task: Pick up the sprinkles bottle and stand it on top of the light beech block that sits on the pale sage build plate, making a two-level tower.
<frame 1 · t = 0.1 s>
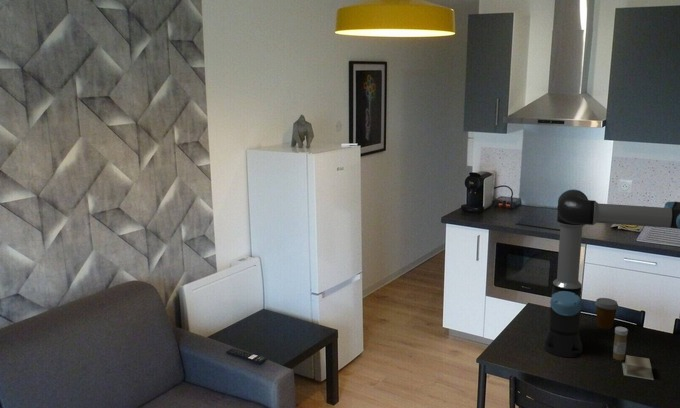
beech block: (637, 371, 217), point 1 cm above the table, touching build plate
disposable coffee cup: (604, 326, 258), on the table
sprinkles bottle: (618, 360, 228), on the table
build plate: (637, 373, 218), on the table
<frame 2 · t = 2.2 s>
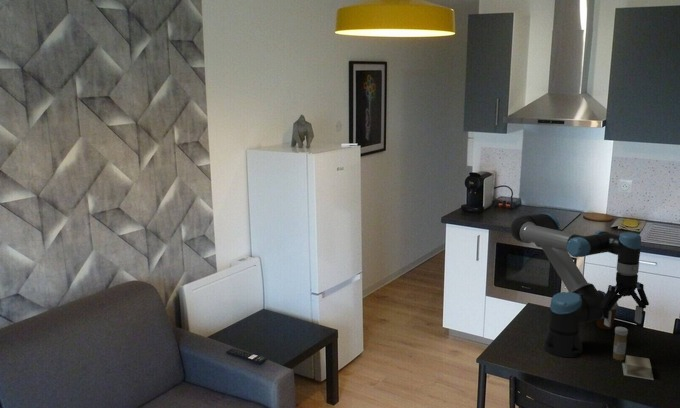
hand: (622, 324, 224), 15 cm above the table, fingers open, 13 cm apart
nothing on the table moved.
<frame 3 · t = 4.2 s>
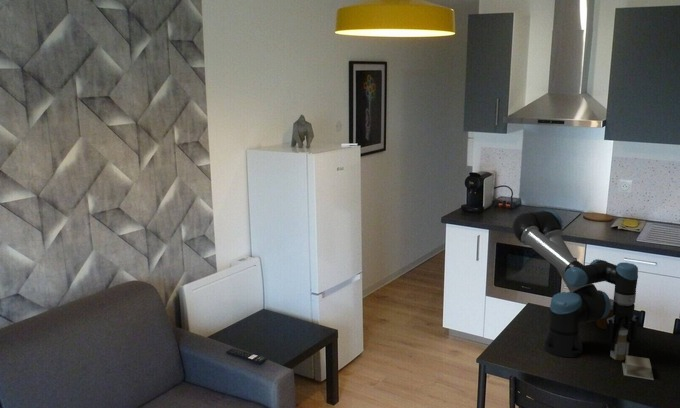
hand: (618, 356, 228), 1 cm above the table, fingers closed on sprinkles bottle, 4 cm apart
sprinkles bottle: (618, 360, 228), on the table, touching gripper
everything else where it was.
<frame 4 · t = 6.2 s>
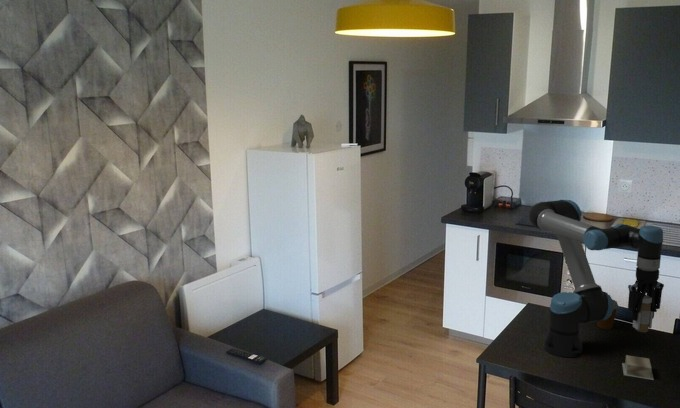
hand: (641, 327, 214), 19 cm above the table, fingers closed on sprinkles bottle, 4 cm apart
sprinkles bottle: (641, 330, 214), point 17 cm above the table, touching gripper
everything else where it was.
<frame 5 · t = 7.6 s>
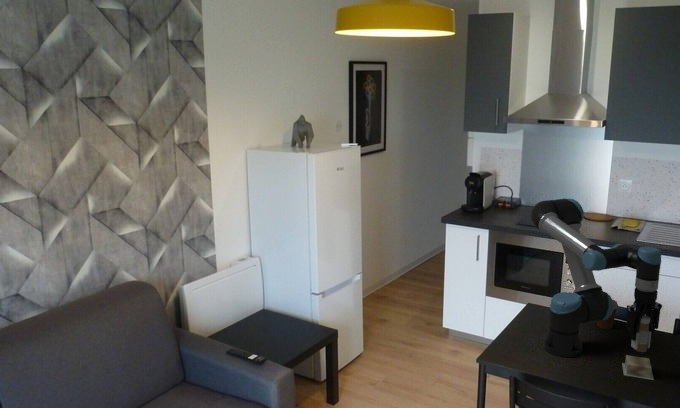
hand: (640, 346, 215), 11 cm above the table, fingers closed on sprinkles bottle, 4 cm apart
sprinkles bottle: (640, 350, 215), point 10 cm above the table, touching gripper
everything else where it was.
when the fingers open (7 cm above the table, at t = 8.6 s): sprinkles bottle drops 1 cm, resting on beech block.
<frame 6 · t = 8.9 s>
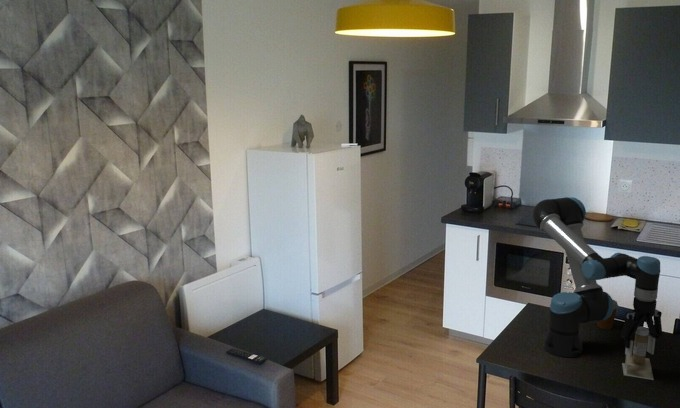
hand: (639, 354, 216), 8 cm above the table, fingers open, 9 cm apart
beech block: (637, 371, 217), point 1 cm above the table, touching build plate, sprinkles bottle
sprinkles bottle: (638, 361, 217), point 5 cm above the table, touching beech block
everything else where it was.
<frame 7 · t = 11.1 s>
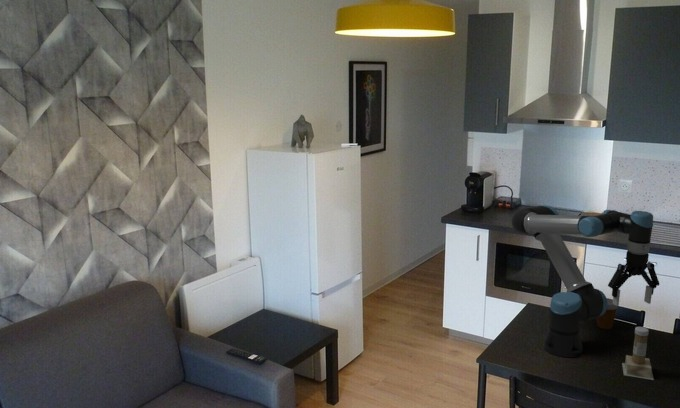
hand: (631, 303, 222), 24 cm above the table, fingers open, 13 cm apart
nothing on the table moved.
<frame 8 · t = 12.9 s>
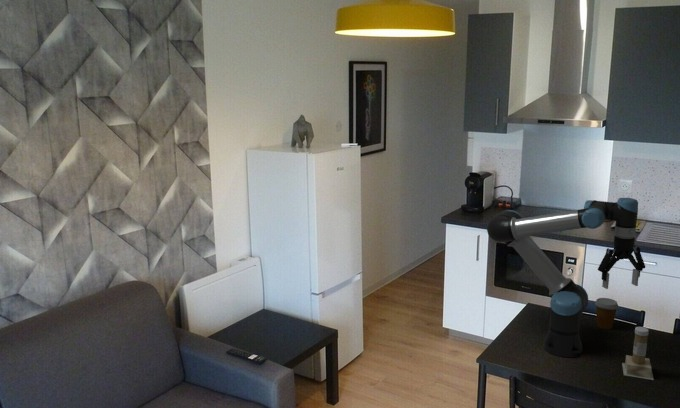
hand: (619, 286, 233), 27 cm above the table, fingers open, 13 cm apart
nothing on the table moved.
at the end: sprinkles bottle inside the target area on the beech block (0.0 cm from its centre), point 3.8 cm above the beech block's base; sprinkles bottle tilted 0°; the gripper is holding nothing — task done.
